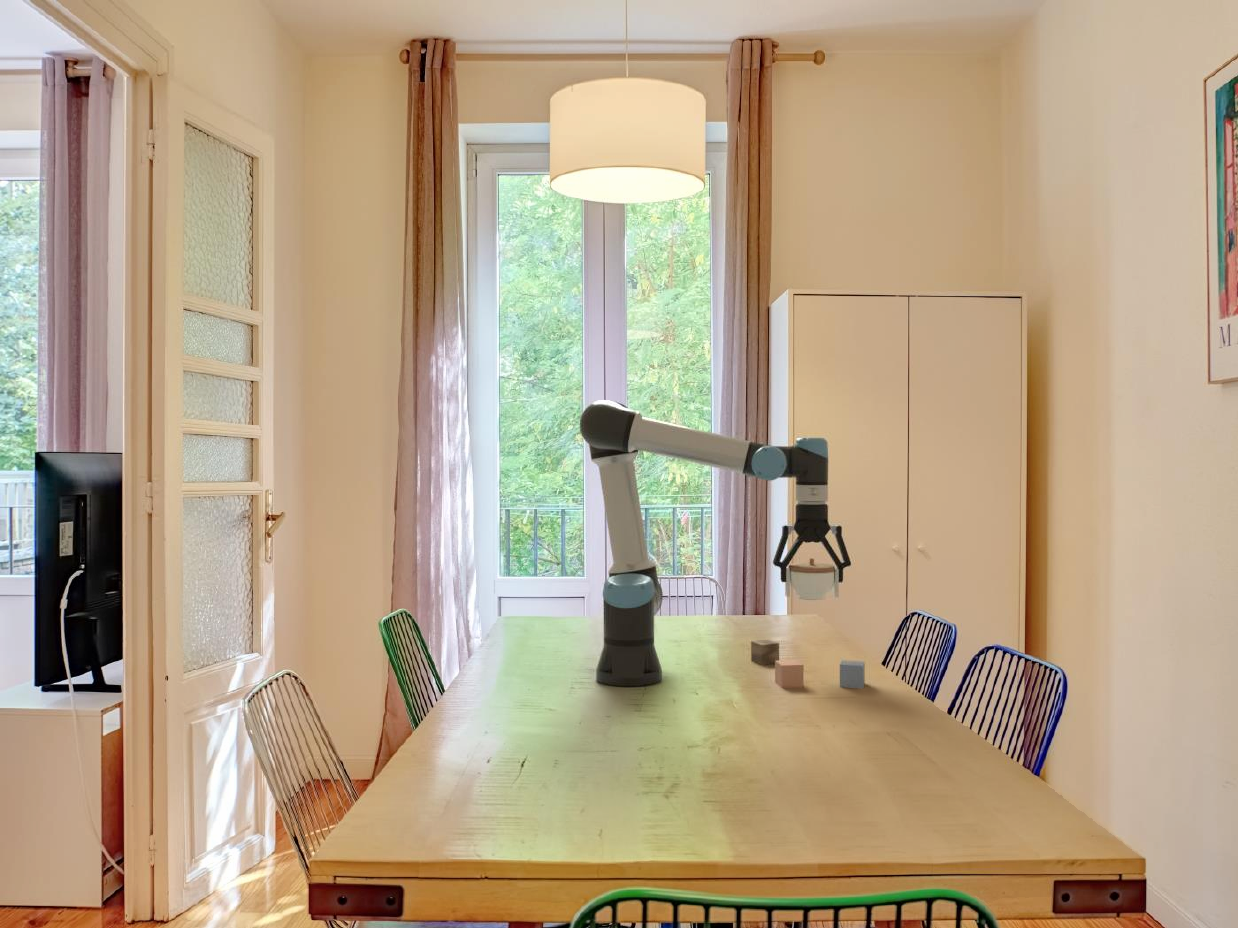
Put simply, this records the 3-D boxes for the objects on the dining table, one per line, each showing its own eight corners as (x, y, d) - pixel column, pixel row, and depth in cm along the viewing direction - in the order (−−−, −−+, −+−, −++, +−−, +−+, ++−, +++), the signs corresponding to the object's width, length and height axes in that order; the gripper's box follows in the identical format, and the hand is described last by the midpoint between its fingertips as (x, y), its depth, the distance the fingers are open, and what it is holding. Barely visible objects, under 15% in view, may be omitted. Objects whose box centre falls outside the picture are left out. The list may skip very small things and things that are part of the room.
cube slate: (839, 687, 218) (839, 664, 218) (841, 681, 223) (841, 659, 223) (862, 688, 216) (862, 666, 216) (864, 683, 221) (864, 661, 221)
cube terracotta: (781, 687, 217) (781, 665, 217) (775, 682, 222) (775, 660, 222) (803, 687, 218) (803, 664, 218) (796, 681, 223) (796, 659, 223)
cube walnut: (761, 665, 240) (761, 644, 240) (751, 661, 245) (751, 641, 245) (779, 663, 242) (779, 643, 242) (768, 659, 247) (768, 639, 246)
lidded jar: (822, 603, 225) (822, 562, 225) (780, 598, 232) (780, 559, 231) (842, 597, 234) (842, 558, 233) (801, 593, 240) (801, 555, 240)
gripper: (764, 503, 229) (764, 598, 229) (864, 503, 228) (864, 598, 228) (760, 502, 236) (760, 593, 237) (858, 502, 235) (858, 593, 236)
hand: (811, 596), depth 233 cm, fingers closed on lidded jar, 11 cm apart
